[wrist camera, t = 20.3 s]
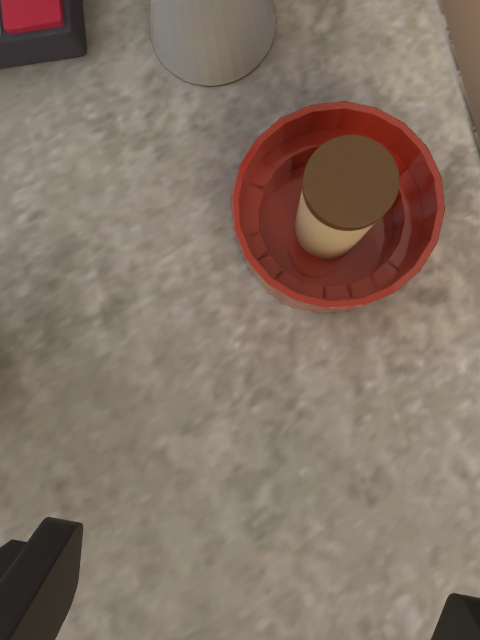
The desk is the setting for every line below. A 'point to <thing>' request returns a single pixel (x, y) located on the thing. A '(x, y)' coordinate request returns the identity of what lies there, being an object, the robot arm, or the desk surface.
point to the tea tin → (344, 194)
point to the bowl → (284, 196)
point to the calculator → (40, 31)
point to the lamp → (211, 37)
